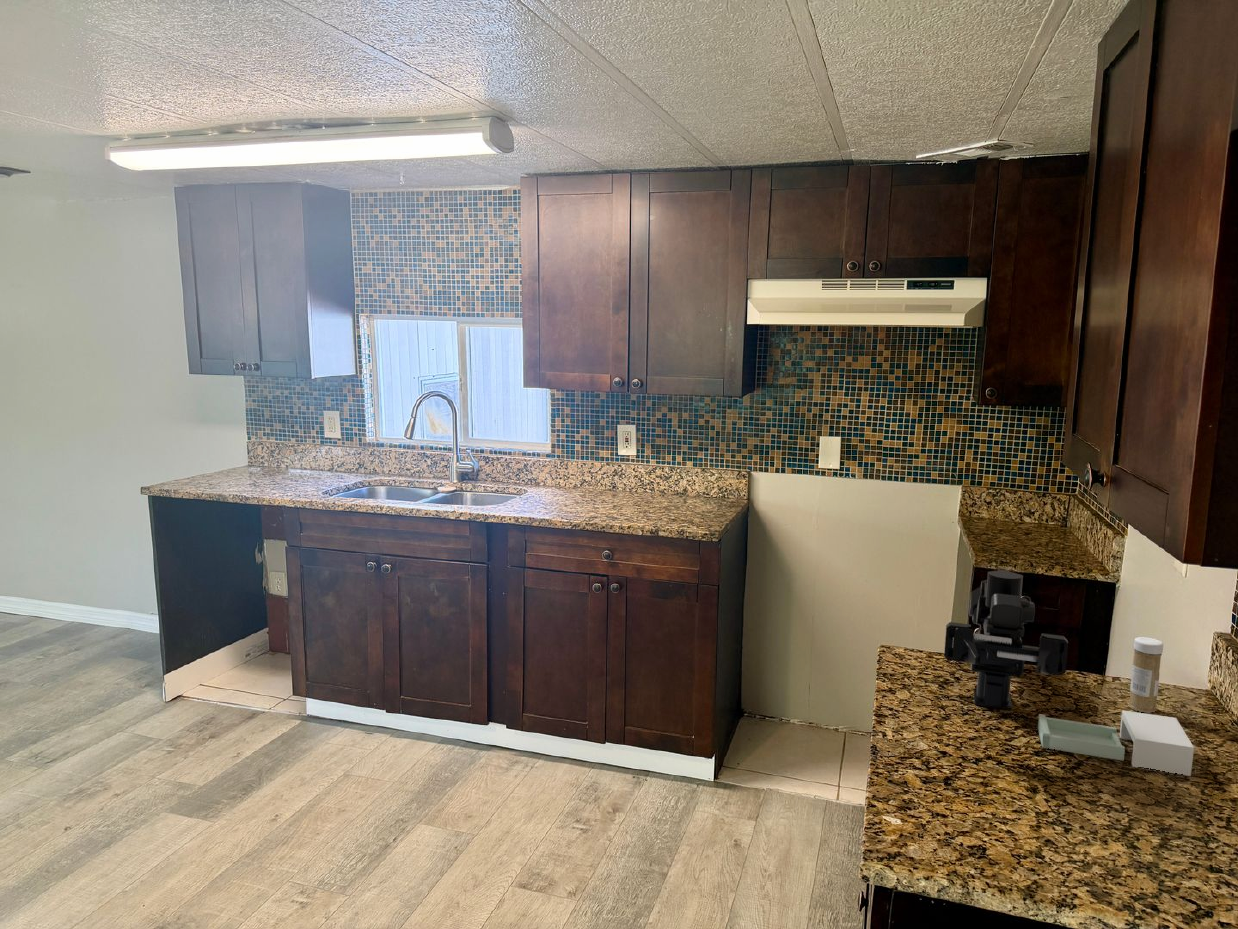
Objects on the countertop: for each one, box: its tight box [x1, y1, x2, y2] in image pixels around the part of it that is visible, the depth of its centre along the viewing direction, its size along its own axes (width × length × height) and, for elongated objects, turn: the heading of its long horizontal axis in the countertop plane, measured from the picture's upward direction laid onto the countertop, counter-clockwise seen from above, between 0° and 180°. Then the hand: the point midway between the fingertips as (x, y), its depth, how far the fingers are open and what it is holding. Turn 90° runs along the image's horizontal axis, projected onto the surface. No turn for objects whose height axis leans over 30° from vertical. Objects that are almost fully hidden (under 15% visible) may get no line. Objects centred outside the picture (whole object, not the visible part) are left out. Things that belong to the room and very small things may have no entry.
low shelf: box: [1119, 710, 1195, 777], centre depth 140 cm, size 11×8×5 cm
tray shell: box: [1037, 713, 1126, 761], centre depth 144 cm, size 8×12×3 cm, turn 69°
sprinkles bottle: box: [1128, 636, 1164, 714], centre depth 157 cm, size 5×5×14 cm
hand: (1007, 665), depth 135 cm, fingers open, 9 cm apart
